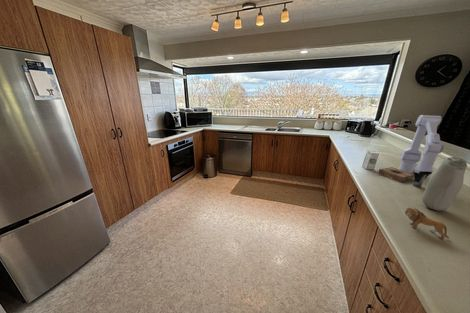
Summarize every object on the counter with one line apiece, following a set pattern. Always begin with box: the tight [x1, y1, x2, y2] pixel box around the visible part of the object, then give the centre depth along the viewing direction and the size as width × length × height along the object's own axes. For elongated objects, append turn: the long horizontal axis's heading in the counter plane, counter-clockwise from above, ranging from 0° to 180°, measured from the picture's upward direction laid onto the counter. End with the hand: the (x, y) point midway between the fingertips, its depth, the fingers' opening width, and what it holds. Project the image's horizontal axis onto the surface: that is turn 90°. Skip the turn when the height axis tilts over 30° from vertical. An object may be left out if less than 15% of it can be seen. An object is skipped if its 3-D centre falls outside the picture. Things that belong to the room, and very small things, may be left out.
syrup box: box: [361, 150, 380, 171], centre depth 135 cm, size 6×6×14 cm
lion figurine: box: [404, 206, 450, 240], centre depth 72 cm, size 15×5×9 cm, turn 51°
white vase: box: [421, 156, 468, 211], centre depth 84 cm, size 10×10×28 cm
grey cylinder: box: [411, 174, 427, 188], centre depth 110 cm, size 4×4×9 cm
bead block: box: [377, 166, 414, 183], centre depth 124 cm, size 14×14×4 cm
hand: (418, 181), depth 110 cm, fingers closed on grey cylinder, 4 cm apart
